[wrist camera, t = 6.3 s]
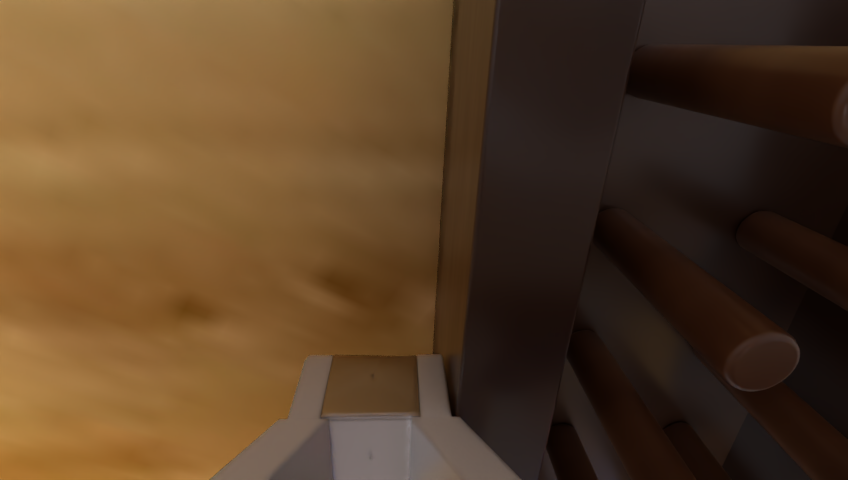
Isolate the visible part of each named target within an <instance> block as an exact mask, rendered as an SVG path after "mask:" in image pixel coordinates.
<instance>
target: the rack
mask: <svg viewBox="0 0 848 480" xmlns="http://www.w3.org/2000/svg"><path fill="white" fill-rule="evenodd" d="M433 354H441V355H442V356H443V360H444V367H445V374H446V381H447V388H448V394H449V401H450V408H451V415H452V417H460V418H461V419H462V420H463V421H464V422H465V423H466V424H467V425H468V426H469V427H470V428H471V429H472V430H473V431H474V432H475V433H476V434H477V435H478V436H479V437H480V438H481V439H482V440H483V441H484V442H485V443H486V444H487V445H488V446H489V447H490V448H491V449H492V450H493V451H494V452H495V453H496V454H497V455H498V456H499V457H500V458H501V459H502V460H503V461H504V462H505V463H506V464H507V465H508V466H509V467H510V468H511V469H512V470H513V471H514V472H515V473H516V474H517V475H518V477H519V478H520V479H521V480H848V0H454V1H453V18H452V35H451V52H450V69H449V85H448V102H447V119H446V136H445V153H444V170H443V187H442V203H441V220H440V237H439V254H438V271H437V288H436V304H435V321H434V338H433Z"/></svg>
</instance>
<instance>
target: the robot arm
mask: <svg viewBox="0 0 848 480" xmlns="http://www.w3.org/2000/svg"><path fill="white" fill-rule="evenodd" d="M209 480H521V479H520V478H519V477H518V475H517V474H516V473H515V472H514V471H513V470H512V469H511V468H510V467H509V466H508V465H507V464H506V463H505V462H504V461H503V460H502V459H501V458H500V457H499V456H498V455H497V454H496V453H495V452H494V451H493V450H492V449H491V448H490V447H489V446H488V445H487V444H486V443H485V442H484V441H483V440H482V439H481V438H480V437H479V436H478V435H477V434H476V433H475V432H474V431H473V430H472V429H471V428H470V427H469V426H468V425H467V424H466V423H465V422H464V421H463V420H462V419H461V418H460V417H452V415H451V408H450V401H449V394H448V388H447V381H446V374H445V367H444V360H443V356H442V355H441V354H422V355H417V356H416V355H398V356H378V355H308V356H307V358H306V359H305V361H304V365H303V368H302V371H301V375H300V378H299V381H298V385H297V388H296V391H295V395H294V398H293V401H292V405H291V408H290V411H289V415H288V418H287V419H279V420H278V421H276V422H275V423H274V424H273V425H272V426H271V427H269V428H268V429H267V430H266V431H265V432H264V433H263V434H261V435H260V436H259V437H258V438H257V439H256V440H254V441H253V442H252V443H251V444H250V445H249V446H248V447H246V448H245V449H244V450H243V451H242V452H241V453H239V454H238V455H237V456H236V457H235V458H234V459H233V460H231V461H230V462H229V463H228V464H227V465H226V466H224V467H223V468H222V469H221V470H220V471H219V472H218V473H216V474H215V475H214V476H213V477H212V478H211V479H209Z"/></svg>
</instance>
